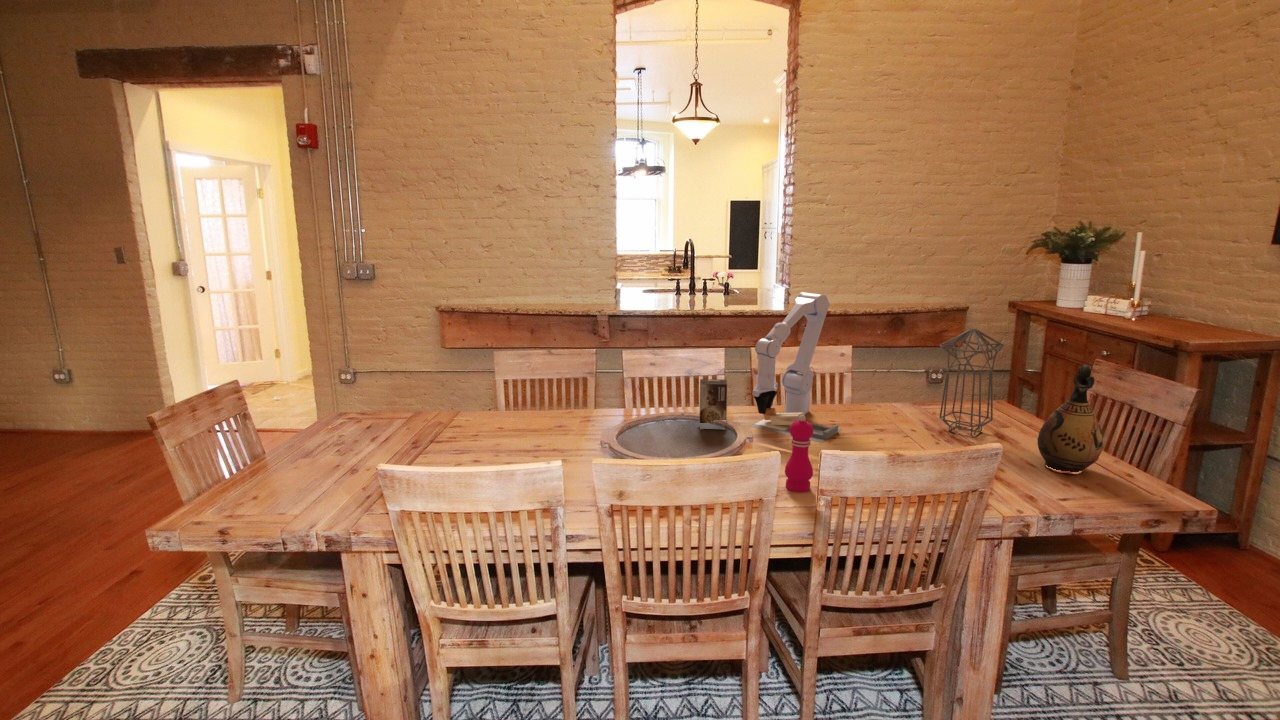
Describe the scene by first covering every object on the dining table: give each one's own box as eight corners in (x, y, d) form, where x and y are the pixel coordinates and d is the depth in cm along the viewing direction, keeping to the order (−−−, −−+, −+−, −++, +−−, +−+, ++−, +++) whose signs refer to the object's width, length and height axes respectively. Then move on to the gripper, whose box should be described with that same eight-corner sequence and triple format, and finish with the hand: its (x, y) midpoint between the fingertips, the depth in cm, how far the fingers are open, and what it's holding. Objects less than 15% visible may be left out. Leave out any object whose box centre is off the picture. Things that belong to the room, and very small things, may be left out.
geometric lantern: (979, 443, 207) (989, 334, 200) (930, 432, 219) (937, 328, 211) (998, 432, 217) (1009, 328, 210) (951, 422, 229) (959, 323, 221)
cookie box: (725, 424, 223) (727, 379, 220) (726, 430, 217) (728, 384, 214) (698, 423, 224) (700, 378, 221) (698, 429, 218) (700, 383, 214)
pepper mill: (780, 482, 176) (784, 411, 172) (806, 481, 177) (811, 410, 172) (788, 493, 169) (793, 419, 165) (815, 492, 170) (820, 419, 165)
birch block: (770, 421, 226) (768, 407, 226) (805, 421, 218) (802, 406, 218) (763, 425, 223) (761, 410, 222) (798, 424, 214) (796, 410, 214)
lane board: (770, 416, 232) (771, 408, 232) (841, 432, 217) (842, 422, 216) (748, 428, 220) (749, 419, 219) (822, 445, 204) (823, 435, 204)
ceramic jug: (1099, 484, 176) (1118, 376, 169) (1033, 472, 184) (1048, 368, 177) (1096, 464, 190) (1113, 364, 184) (1034, 453, 198) (1049, 357, 191)
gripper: (766, 379, 214) (764, 419, 217) (786, 371, 225) (784, 409, 228) (747, 376, 218) (746, 415, 221) (767, 368, 229) (766, 405, 232)
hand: (764, 412), depth 224 cm, fingers closed on birch block, 3 cm apart
